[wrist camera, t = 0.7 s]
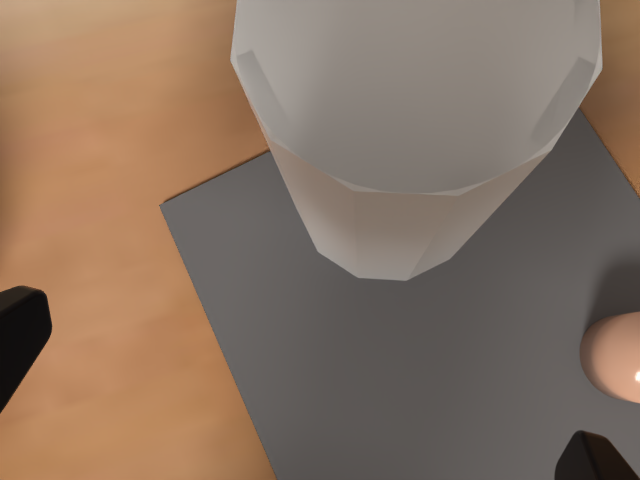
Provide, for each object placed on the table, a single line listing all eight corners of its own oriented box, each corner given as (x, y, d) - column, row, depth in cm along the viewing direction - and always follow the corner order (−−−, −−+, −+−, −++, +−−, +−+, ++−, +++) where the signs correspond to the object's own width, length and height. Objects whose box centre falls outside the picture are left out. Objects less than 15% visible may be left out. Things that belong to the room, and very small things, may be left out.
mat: (806, 458, 20) (813, 460, 19) (368, 685, 19) (368, 690, 19) (523, 30, 24) (525, 26, 24) (161, 207, 24) (159, 205, 23)
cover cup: (508, 230, 22) (677, 88, 10) (346, 310, 22) (330, 259, 10) (422, 84, 24) (482, -183, 12) (271, 157, 23) (180, -40, 12)
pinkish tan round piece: (683, 377, 20) (727, 380, 18) (609, 415, 20) (643, 423, 18) (635, 301, 21) (671, 294, 19) (563, 337, 21) (590, 335, 18)
